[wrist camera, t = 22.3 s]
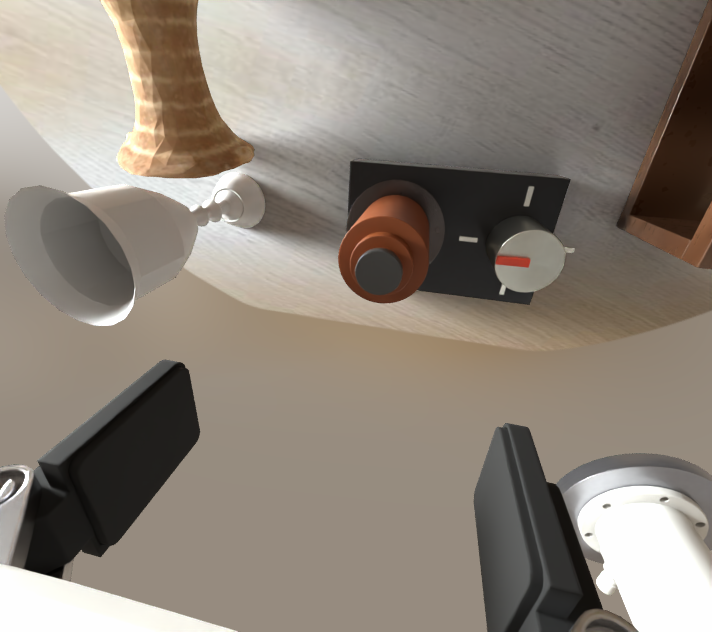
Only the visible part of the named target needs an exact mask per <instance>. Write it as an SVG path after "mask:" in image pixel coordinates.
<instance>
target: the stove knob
mask: <svg viewBox="0 0 712 632" xmlns="http://www.w3.org/2000/svg"><path fill="white" fill-rule="evenodd" d="M486 253H487V256H488V258H489V260H490V263H491V265H492V267H493V269H494V271H495V273H496V275H497V278H498V279H499V281H500V282H501V283H502V284H503V285H504V286H505V287H507V288H509V289H511V290H513V291H517V292H533V291H537V290H540V289H542V288H544V287H546V286H548V285H549V284H551V283H552V282H553V281H554V280H555V279H556V278H557V277H558V276H559V274H560V273H561V271H562V269H563V267H564V264H565V249H564V246H563V244H562V243H561V241H560V240H559V239H558V238H557V237H556V236H555V235H554V234H552V233H551V232H550V231H549V230H548V229H546V228H545V227H544V226H543V225H542V224H540V223H539V222H538V221H536V220H535V219H533V218H531V217H527V216H513V217H510V218H507V219H505V220H503V221H501V222H500V223H498V224H497V225H496V226H495V227H494V228H493V229H492V231H491V232H490V234H489V236H488V238H487V241H486Z"/></svg>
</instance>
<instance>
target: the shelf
mask: <svg viewBox="0 0 712 632" xmlns="http://www.w3.org/2000/svg"><path fill="white" fill-rule="evenodd" d="M616 227H618V228H620V229H622V230H624V231H626V232H628V233H630V234H632V235H634V236H636V237H638V238H640V239H641V240H643V241H645V242H647V243H649V244H651V245H653V246H655V247H657V248H659V249H661V250H663V251H665V252H667V253H669V254H671V255H673V256H675V257H677V258H679V259H681V260H683V261H685V262H687V263H689V264H691V265H693V266H695V267H697V268H704V269H712V0H708V2H707V5H706V7H705V10H704V12H703V15H702V17H701V19H700V22H699V24H698V27H697V29H696V32H695V34H694V37H693V39H692V42H691V44H690V46H689V49H688V51H687V54H686V56H685V59H684V61H683V64H682V66H681V69H680V71H679V73H678V76H677V78H676V81H675V83H674V86H673V88H672V91H671V93H670V96H669V98H668V100H667V103H666V105H665V108H664V110H663V113H662V115H661V118H660V120H659V123H658V125H657V127H656V130H655V132H654V135H653V137H652V140H651V142H650V145H649V147H648V150H647V152H646V154H645V157H644V159H643V162H642V164H641V167H640V169H639V172H638V174H637V177H636V179H635V181H634V184H633V186H632V189H631V191H630V194H629V196H628V199H627V201H626V204H625V206H624V208H623V211H622V213H621V215H620V218H619V220H618V223H617V225H616Z"/></svg>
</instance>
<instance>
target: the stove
mask: <svg viewBox="0 0 712 632" xmlns="http://www.w3.org/2000/svg"><path fill="white" fill-rule="evenodd" d="M391 179H402V180H408V181H411V182H414V183H416V184H418V185H420V186H422V187H423V188H425V189H426V190H427V191H429V192H430V193H431V194H432V195H433V197H434V198H435V199H436V201H437V202H438V204H439V206H440V208H441V210H442V213H443V216H444V222H445V235H444V240H443V244H442V246H441V249H440V251H439V253H438V254H437V256H436V257H435V259H434V260H433V261H432V262H431V263H430V264H429V267H428V271H427V275H426V277H425V279H424V281H423V283H422V284H421V286H420V287H419V288H418V289H417V290H418V291H426V292H434V293H442V294H449V295H457V296H465V297H473V298H480V299H488V300H496V301H504V302H511V303H519V304H527V305H530V302H531V299H532V296H533V293H534V291H533V292H517V291H513V290H511V289H509V288H507V287H505V286H504V285H503V284H502V283H501V282H500V281H499V279H498V278H497V275H496V273H495V271H494V269H493V267H492V265H491V263H490V260H489V258H488V256H487V253H486V241H487V238H488V236H489V234H490V232H491V231H492V229H493V228H494V227H495V226H496V225H497V224H498V223H500V222H501V221H503V220H505V219H507V218H510V217H513V216H527V217H531V218H533V219H535V220H536V221H538V222H539V223H540V224H542V225H543V226H544V227H545V228H546V229H548V230H549V231H550V232H551V233H552V234H553V232H554V229H555V226H556V223H557V220H558V217H559V213H560V210H561V207H562V204H563V201H564V198H565V195H566V192H567V189H568V186H569V183H570V179H569V178H566V177H563V176H560V175H555V174H543V173H530V172H518V171H506V170H493V169H481V168H468V167H456V166H444V165H431V164H419V163H407V162H394V161H382V160H369V159H356V160H353V161H351V162H350V180H349V201H348V215H349V212H350V209H351V207H352V205H353V204H354V202H355V201H356V199H357V198H358V197H359V196H360V195H361V194H362V192H364V191H365V190H366V189H367V188H369V187H371V186H372V185H374V184H376V183H379V182H381V181H385V180H391ZM564 249H565V252H568V253H574V250H575V248H569V247H564Z"/></svg>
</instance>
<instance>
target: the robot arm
mask: <svg viewBox="0 0 712 632" xmlns="http://www.w3.org/2000/svg"><path fill="white" fill-rule="evenodd" d="M199 435H200V428H199V423H198V418H197V412H196V407H195V401H194V396H193V390H192V385H191V380H190V374H189V370H188V369H186V368H185V365H184V364H183V363H181V362H175V361H170V360H162V361H160V362H159V363H157V364H156V365H155V366H154V367H152V368H151V369H150V370H149V371H147V372H146V373H145V374H144V375H143V376H141V377H140V378H139V379H138V380H136V381H135V382H134V383H133V384H131V385H130V386H129V387H128V388H126V389H125V390H124V391H123V392H121V393H120V394H119V395H118V396H117V397H115V398H114V399H113V400H112V401H110V402H109V403H108V404H107V405H105V406H104V407H103V408H102V409H100V410H99V411H98V412H97V413H95V414H94V415H93V416H92V417H91V418H89V419H88V420H87V421H86V422H84V423H83V424H82V425H81V426H79V427H78V428H77V429H76V430H74V431H73V432H72V433H71V434H69V435H68V436H67V437H66V438H65V439H63V440H62V441H61V442H60V443H58V444H57V445H56V446H55V447H53V448H52V449H51V450H50V451H48V452H47V453H46V454H45V455H44V456H42V457H41V458H40V459H39V460H38V463H39V465H40V466H39V467H37V468H36V469H35V470H34V471H33V470H32V469H31V468H30V467H28V466H26V465H17V464H13V465H8V466H2V467H0V632H238V631H235V630H231V629H228V628H225V627H221V626H218V625H214V624H211V623H208V622H205V621H201V620H198V619H195V618H191V617H188V616H184V615H181V614H177V613H174V612H171V611H168V610H164V609H161V608H158V607H154V606H151V605H147V604H144V603H141V602H137V601H134V600H130V599H127V598H124V597H120V596H116V595H113V594H110V593H106V592H103V591H99V590H96V589H93V588H89V587H86V586H82V585H79V584H76V583H72V582H70V581H71V574H72V567H73V559H74V557H75V556H76V555H77V554H78V553H79V552H80V550H82V552H84V553H87V554H91V555H94V556H98V557H101V556H102V555H103V554H104V553H105V551H106V550H107V549H108V547H109V546H111V545H114V544H116V543H117V542H118V541H119V540H120V539H121V538H122V536H123V535H124V534H125V533H126V531H127V530H128V529H129V527H130V526H131V525H132V524H133V522H134V521H135V520H136V519H137V517H138V516H139V515H140V513H141V512H142V511H143V510H144V508H145V507H146V506H147V505H148V503H149V502H150V501H151V499H152V498H153V497H154V496H155V494H156V493H157V492H158V491H159V489H160V488H161V487H162V486H163V484H164V483H165V482H166V480H167V479H168V478H169V477H170V475H171V474H172V473H173V471H174V470H175V469H176V468H177V466H178V465H179V464H180V462H181V461H182V460H183V459H184V457H185V456H186V455H187V454H188V452H189V451H190V450H191V449H192V447H193V446H194V445H195V444H196V442H197V440H198V438H199ZM474 509H475V518H476V527H477V536H478V546H479V556H480V565H481V575H482V583H483V592H484V603H485V612H486V621H487V631H488V632H712V553H711V551H710V550H709V548H708V547H707V545H706V544H705V542H704V541H703V540H704V539H705V537H706V536H707V533H708V529H709V523H708V519H707V517H706V515H705V513H704V512H703V511H702V509H701V508H700V507H699V505H698V504H697V503H696V502H695V501H693V500H692V499H691V498H689V497H688V496H686V495H684V494H682V493H680V492H677V491H674V490H671V489H667V488H662V487H655V486H630V487H622V488H618V489H614V490H611V491H608V492H605V493H603V494H600V495H599V496H597V497H595V498H593V499H592V500H591V501H589V502H588V503H587V504H586V505H585V506H584V507H583V509H582V510H581V511H580V514H579V516H578V527H579V530H580V533H581V535H582V538H583V540H584V541H585V542H586V543H587V544H588V545H589V546H590V547H591V548H592V549H594V550H595V551H597V552H599V553H601V554H602V556H603V558H604V561H605V563H604V571H602V572H601V574H600V575H599V577H598V578H597V581H596V583H597V585H598V587H599V588H600V590H601V591H603V592H604V593H605V594H608V595H612V594H613V593H614V592H615V591H616V589H617V588H618V589H619V591H620V594H621V596H622V599H623V601H624V604H625V606H626V608H627V611H628V613H629V616H630V618H631V621H632V623H633V625H634V626H633V625H631V624H630V623H629V622H627V621H626V620H624V619H623V618H622V617H620V616H618V615H615V614H613V613H611V612H609V611H607V610H603V608H602V605H601V602H600V599H599V597H598V594H597V591H596V588H595V585H594V583H593V580H592V577H591V574H590V571H589V569H588V566H587V563H586V560H585V557H584V555H583V552H582V549H581V546H580V543H579V541H578V538H577V535H576V532H575V529H574V527H573V524H572V521H571V518H570V515H569V513H568V510H567V507H566V504H565V501H564V499H563V496H562V493H561V491H560V489H559V487H558V486H557V485H556V484H553V483H549V482H546V479H545V476H544V472H543V470H542V467H541V463H540V460H539V457H538V454H537V451H536V448H535V445H534V442H533V439H532V436H531V433H530V430H529V428H528V427H524V426H519V425H514V424H508V423H505V424H504V426H503V428H501V427H497V428H496V430H495V432H494V435H493V438H492V441H491V444H490V447H489V451H488V453H487V456H486V459H485V462H484V465H483V468H482V471H481V474H480V477H479V480H478V483H477V486H476V489H475V494H474Z"/></svg>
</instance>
